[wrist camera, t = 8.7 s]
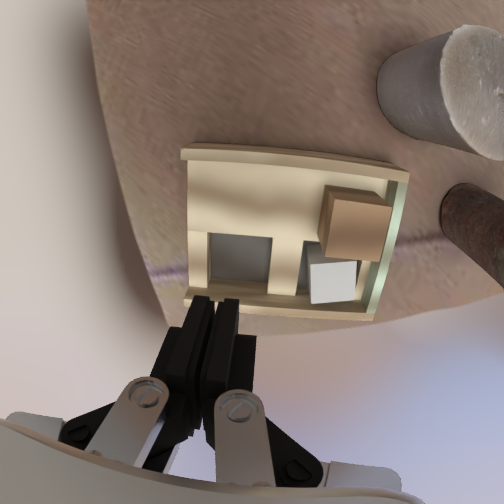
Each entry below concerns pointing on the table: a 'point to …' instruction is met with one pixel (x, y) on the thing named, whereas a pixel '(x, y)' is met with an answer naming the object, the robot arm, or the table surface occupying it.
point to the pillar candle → (449, 90)
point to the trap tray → (277, 226)
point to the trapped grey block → (329, 276)
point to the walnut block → (353, 223)
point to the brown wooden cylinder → (476, 226)
